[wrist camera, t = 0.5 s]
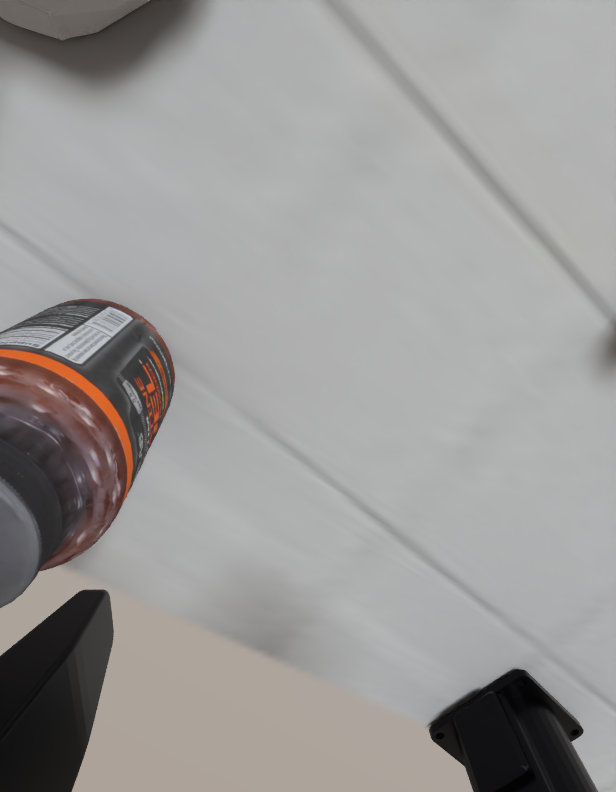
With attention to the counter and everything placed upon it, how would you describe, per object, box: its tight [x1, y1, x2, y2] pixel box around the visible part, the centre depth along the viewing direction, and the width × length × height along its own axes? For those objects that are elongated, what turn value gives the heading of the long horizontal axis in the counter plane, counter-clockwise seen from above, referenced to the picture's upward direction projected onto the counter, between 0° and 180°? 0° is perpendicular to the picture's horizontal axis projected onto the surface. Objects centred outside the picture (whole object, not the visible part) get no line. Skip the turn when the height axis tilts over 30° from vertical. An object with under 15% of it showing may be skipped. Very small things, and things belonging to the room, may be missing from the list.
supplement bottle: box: [0, 299, 175, 608], centre depth 16 cm, size 6×6×11 cm
